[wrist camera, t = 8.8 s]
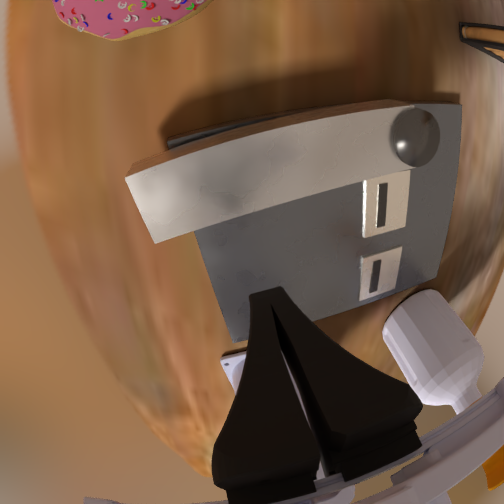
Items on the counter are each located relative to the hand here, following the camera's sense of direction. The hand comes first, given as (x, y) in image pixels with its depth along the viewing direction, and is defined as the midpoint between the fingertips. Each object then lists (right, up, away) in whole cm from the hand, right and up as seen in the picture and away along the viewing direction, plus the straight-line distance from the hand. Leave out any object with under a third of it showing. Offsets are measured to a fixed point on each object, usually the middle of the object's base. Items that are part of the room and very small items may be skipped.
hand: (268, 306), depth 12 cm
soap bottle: (+19, -5, +20) cm, 28 cm away
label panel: (+7, +5, +10) cm, 13 cm away
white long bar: (+2, +8, +4) cm, 10 cm away
